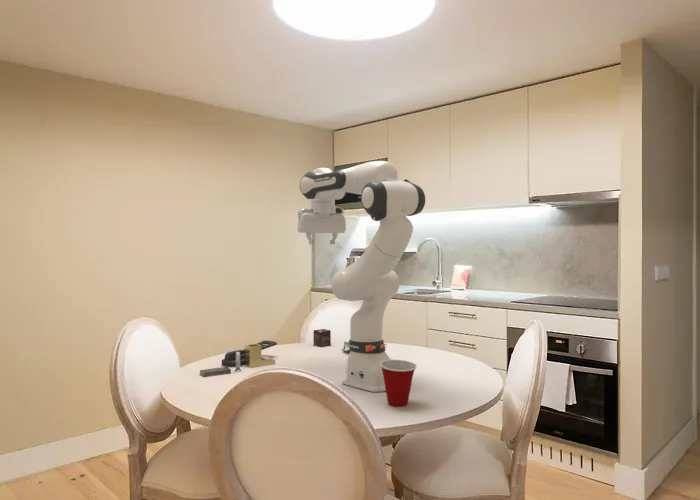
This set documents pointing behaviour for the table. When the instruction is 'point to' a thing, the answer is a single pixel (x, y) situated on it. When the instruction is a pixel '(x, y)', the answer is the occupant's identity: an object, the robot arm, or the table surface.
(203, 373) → the fixed leaf
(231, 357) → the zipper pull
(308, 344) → the table surface
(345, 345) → the metal bracket
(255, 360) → the tan l-shaped bracket
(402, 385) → the plastic cup
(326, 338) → the box
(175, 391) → the table surface
